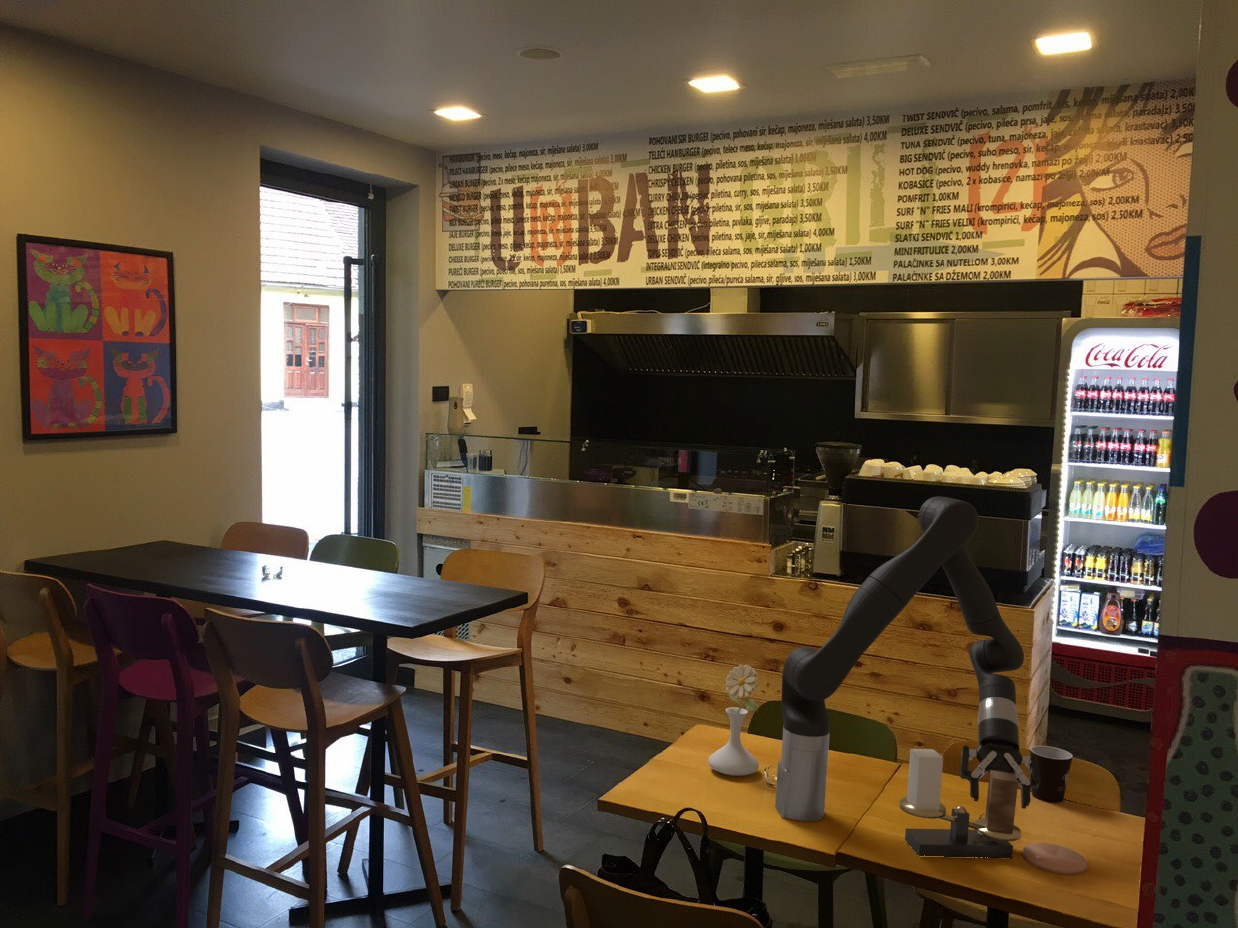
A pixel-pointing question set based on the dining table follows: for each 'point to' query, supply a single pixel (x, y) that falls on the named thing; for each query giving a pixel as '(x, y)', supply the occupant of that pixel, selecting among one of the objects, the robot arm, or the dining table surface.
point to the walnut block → (1001, 801)
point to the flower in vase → (737, 725)
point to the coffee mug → (1051, 773)
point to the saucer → (1055, 858)
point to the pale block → (924, 779)
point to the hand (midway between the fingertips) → (1000, 803)
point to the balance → (957, 835)
